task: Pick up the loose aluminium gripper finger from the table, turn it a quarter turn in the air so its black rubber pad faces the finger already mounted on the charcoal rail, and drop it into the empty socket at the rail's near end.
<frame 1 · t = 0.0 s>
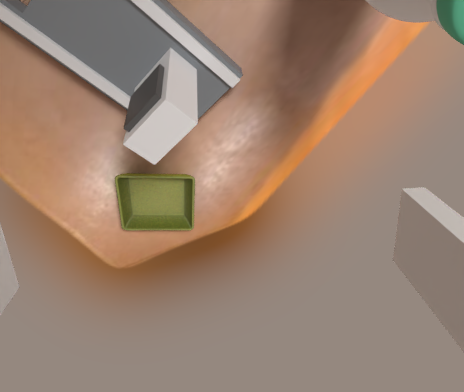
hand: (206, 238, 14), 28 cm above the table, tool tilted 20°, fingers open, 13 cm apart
rail: (101, 19, 36), on the table
green square tray: (157, 192, 50), on the table
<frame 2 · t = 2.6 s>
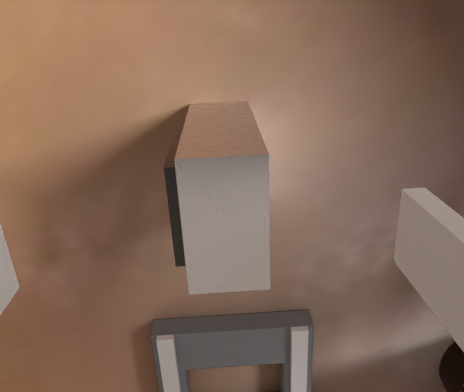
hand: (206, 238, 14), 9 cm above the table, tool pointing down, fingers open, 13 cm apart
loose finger: (221, 150, 22), on the table
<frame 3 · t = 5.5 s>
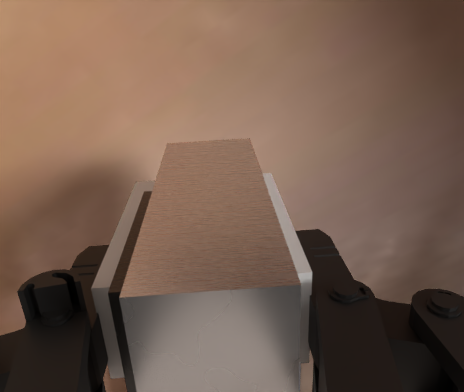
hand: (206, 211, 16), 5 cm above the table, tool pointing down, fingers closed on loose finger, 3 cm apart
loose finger: (213, 205, 16), point 5 cm above the table, touching gripper
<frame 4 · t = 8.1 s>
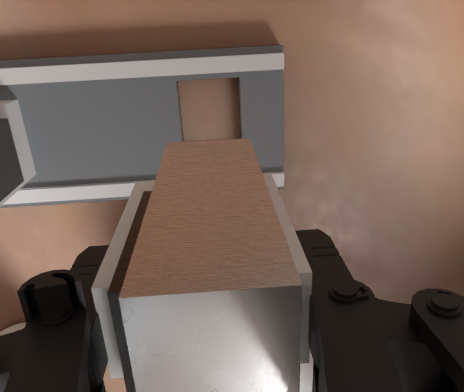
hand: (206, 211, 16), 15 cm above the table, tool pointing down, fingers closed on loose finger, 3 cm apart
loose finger: (213, 205, 16), point 15 cm above the table, touching gripper
rail: (113, 127, 30), on the table
when the fingers open (3 cm above the table, at t = 10.9 s): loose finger drops 3 cm, resting in rail.
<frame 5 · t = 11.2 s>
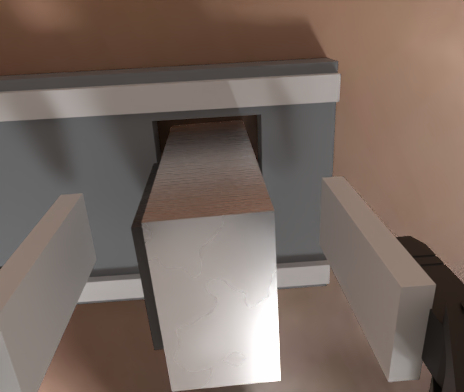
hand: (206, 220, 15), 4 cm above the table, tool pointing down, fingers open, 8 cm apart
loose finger: (212, 179, 19), resting in rail
rail: (53, 191, 18), on the table
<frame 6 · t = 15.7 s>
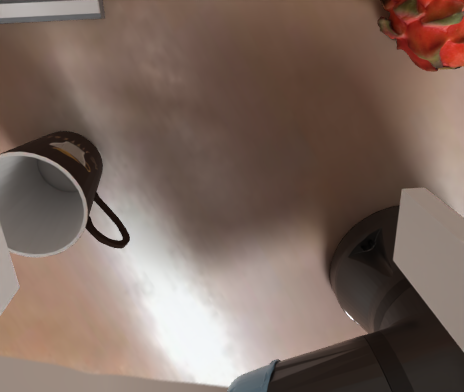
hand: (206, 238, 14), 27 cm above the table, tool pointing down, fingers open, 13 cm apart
dragon fruit: (426, 15, 37), on the table
coffee mug: (78, 175, 41), on the table
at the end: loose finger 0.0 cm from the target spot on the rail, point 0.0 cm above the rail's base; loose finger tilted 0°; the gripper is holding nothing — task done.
